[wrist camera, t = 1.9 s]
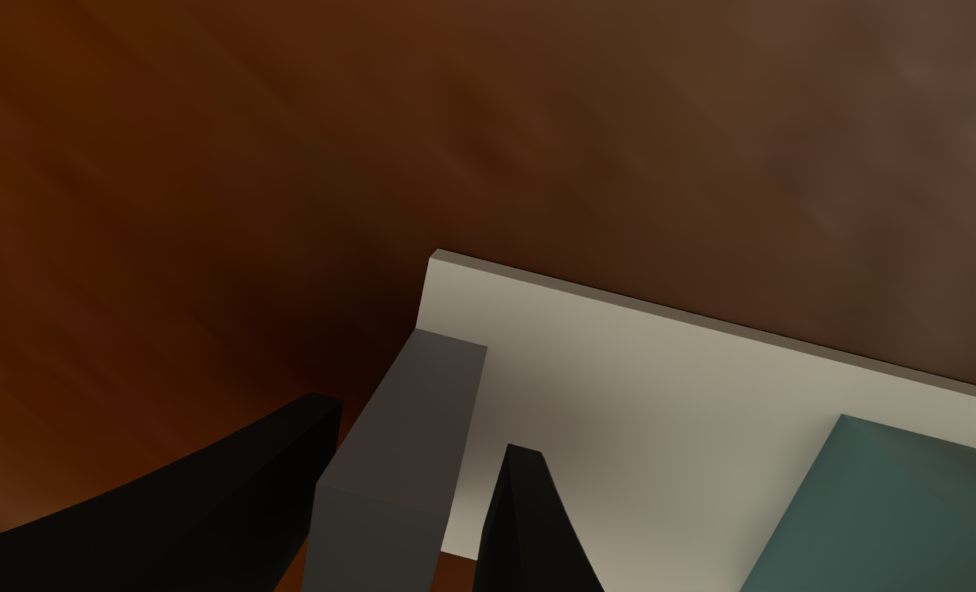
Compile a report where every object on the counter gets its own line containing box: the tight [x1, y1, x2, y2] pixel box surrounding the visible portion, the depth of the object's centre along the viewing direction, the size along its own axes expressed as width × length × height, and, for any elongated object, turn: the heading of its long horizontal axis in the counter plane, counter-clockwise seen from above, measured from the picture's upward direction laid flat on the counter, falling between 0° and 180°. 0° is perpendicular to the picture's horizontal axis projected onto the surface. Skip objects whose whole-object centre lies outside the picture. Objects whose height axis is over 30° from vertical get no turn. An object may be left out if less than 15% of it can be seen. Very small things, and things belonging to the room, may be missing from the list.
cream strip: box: [301, 249, 976, 592], centre depth 8 cm, size 14×7×5 cm, turn 77°
